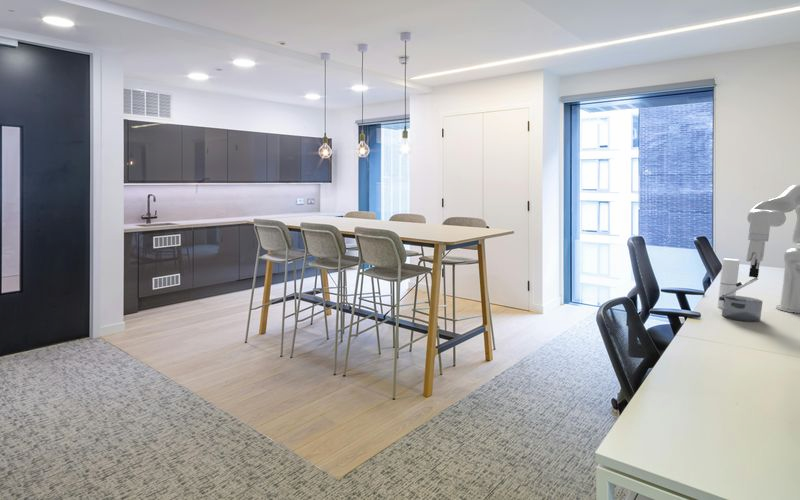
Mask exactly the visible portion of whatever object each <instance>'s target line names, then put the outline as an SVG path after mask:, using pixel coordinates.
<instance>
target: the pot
mask: <svg viewBox="0 0 800 500" xmlns="http://www.w3.org/2000/svg"><path fill="white" fill-rule="evenodd" d="M718 297H719V296H718ZM719 300H721V301H723V308H721V316H722V317H724V318H726V319H729V320H732V321H737V322H745V323H759V322H761V317H762V316H761V315H762V309H763V300H762V299H758V298H755V297H750V296H742V295H736V296H723V295H722V296H720V297H719Z"/></svg>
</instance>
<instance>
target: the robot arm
mask: <svg viewBox="0 0 800 500" xmlns="http://www.w3.org/2000/svg"><path fill="white" fill-rule="evenodd" d="M793 211H795V213H796V222H795V226H794V230H793V234H792V243H793V244H794V245H796V246H800V183H799V184H797V183H796V184H793V185H791V186H788V187H787V189H786V190H785V191H783V193H781V194H780V195H779V196H778V197H775V198H772V199H768V200H766V201H765V200H764V201H761V202H760V203H757V204H756V205H755V206H753V208H751V210H750V211H749V212H748V214H747V222H748V223H749V228H748V237H747V238H748V239H747V240H748V241H749V244H748V249H747V254H746V263H747V262H750V264H749V265H750V267H749V273H748V277H750V278H758V277H759V272H760V265H761V262H763V260H764V255H765V248H766V243H767V242H769V238H770V237H769V236H770V230H771V227H772V228H773V227H776V228H777V227H781V226H783V225H784V224H785V223H786V219H787V217H786V213H790V212H793ZM783 263H784V274H783V281H782V289H781V297H780V303H779V304H778V305H776V306H775V308H776V309H777V310H779V311H782V310H783V312H788V313H793V312H794V314H795V313H796V314H800V248H799V247H798V248H796V247H793V248H789V249H787V250H785V252H784V254H783Z"/></svg>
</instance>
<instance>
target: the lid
mask: <svg viewBox="0 0 800 500" xmlns="http://www.w3.org/2000/svg"><path fill="white" fill-rule="evenodd" d="M758 280H759V278H758V277H757V278H756V277H753V278H752V279H750V280H748V281H746V282H744V283H742V282H740V281H739V282H737V284H735V285H736V286H737V287H736V288H734V289H732V290H730V291H728V292H726V293H724V294H723V296H727V295H729V294H731V293H733V292H735V291H736V292H737V291H739V290H740V289H743V288H745V287H747V286H748V285H751V284H753V283H754V282H756V281H758Z"/></svg>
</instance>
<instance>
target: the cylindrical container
mask: <svg viewBox="0 0 800 500" xmlns="http://www.w3.org/2000/svg"><path fill="white" fill-rule="evenodd" d="M721 262H722V264H721V271H720V272H721V273H720V282H719V290H718V299H717V306H718V307H717V308H719V307H720V308H719V309H723V301H721V300H719V297H720V296H722V295H723V294H724V293H726V292H728V291H730V290H732V289H734V288H736V287H737V286H736V285H735V284H737V283H738V280H739V279H738V278H739V277H738V276H739V271H740V263H741V260H740V259H738V258H726V257H724V258H722V261H721ZM736 293H737V291H735V292H733V293H731V294H729V295H727V296H737V295H736Z"/></svg>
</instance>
